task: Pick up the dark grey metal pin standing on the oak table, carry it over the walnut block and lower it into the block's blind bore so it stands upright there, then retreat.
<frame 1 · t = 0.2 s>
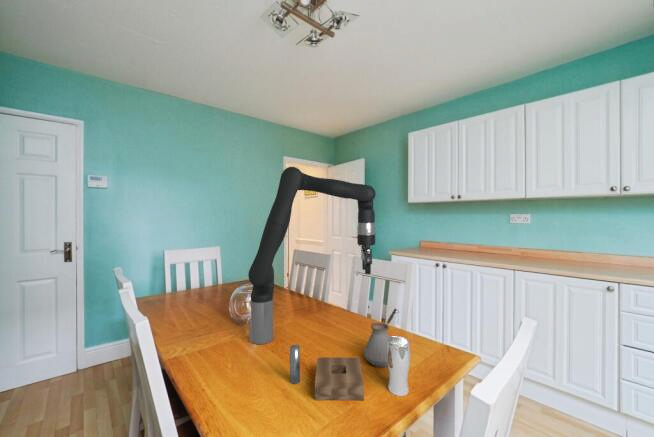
hand: (366, 271, 116), 29 cm above the table, fingers open, 8 cm apart
coffee pot: (385, 356, 103), on the table
pin: (295, 381, 88), on the table
bore block: (338, 385, 86), on the table
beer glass: (398, 390, 83), on the table
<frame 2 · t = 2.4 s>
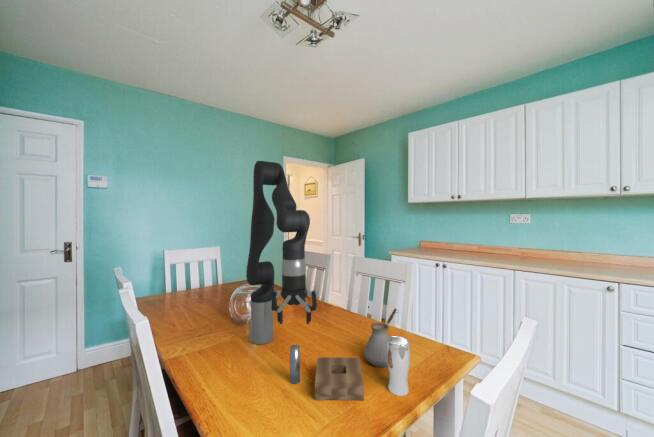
hand: (294, 323, 88), 19 cm above the table, fingers open, 8 cm apart
nothing on the table moved.
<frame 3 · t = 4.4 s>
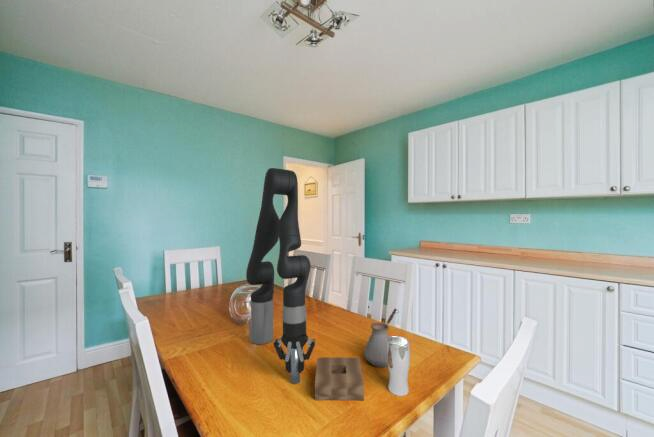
hand: (295, 371, 88), 3 cm above the table, fingers closed on pin, 3 cm apart
pin: (295, 381, 88), on the table, touching gripper
everything else where it was.
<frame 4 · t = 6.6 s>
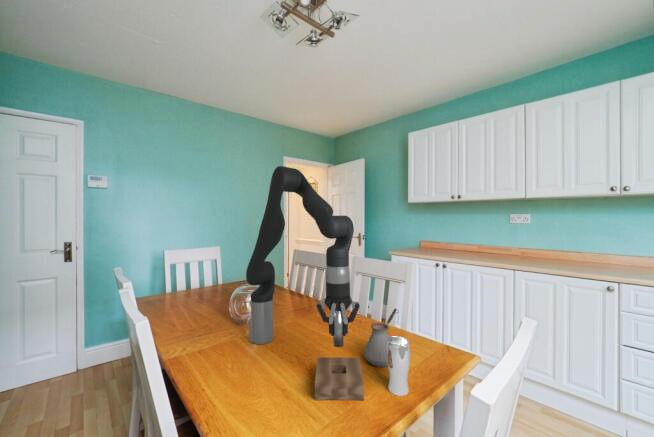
hand: (338, 334, 86), 16 cm above the table, fingers closed on pin, 3 cm apart
pin: (338, 344, 85), point 13 cm above the table, touching gripper
everything else where it was.
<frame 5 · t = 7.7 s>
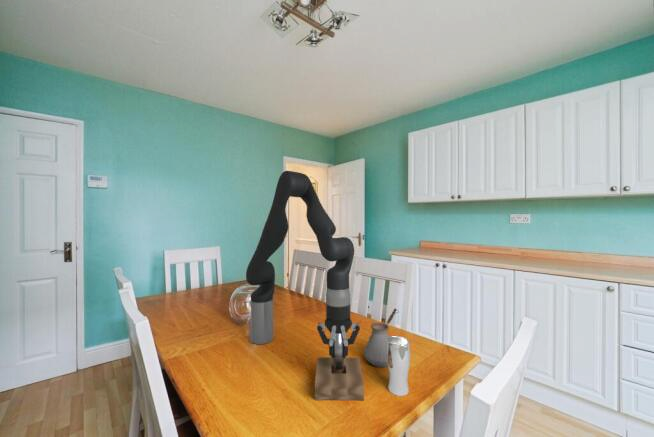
hand: (338, 356, 86), 9 cm above the table, fingers closed on pin, 3 cm apart
pin: (338, 366, 86), point 6 cm above the table, touching gripper
everything else where it was.
when the fingers open (6 cm above the table, at t = 8.7 s): pin drops 2 cm, resting on bore block.
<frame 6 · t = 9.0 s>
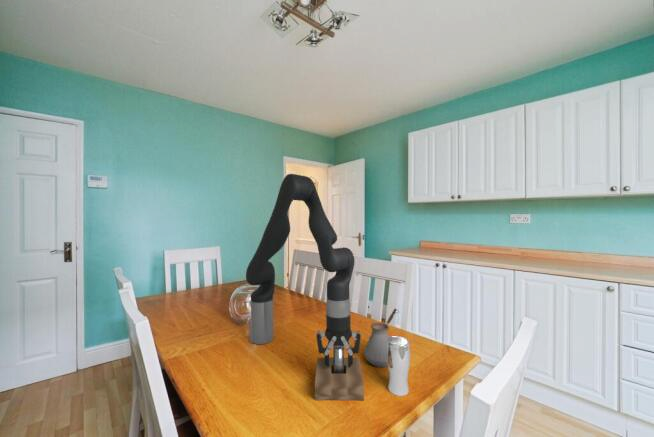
hand: (338, 365, 86), 6 cm above the table, fingers open, 6 cm apart
pin: (338, 382, 86), point 1 cm above the table, touching bore block
everything else where it was.
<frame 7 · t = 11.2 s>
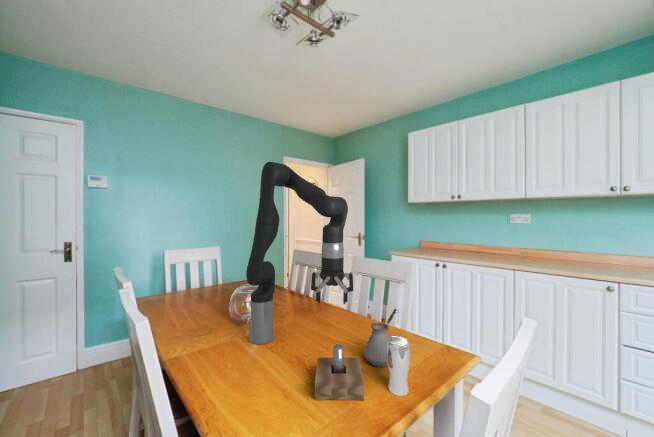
hand: (331, 302, 93), 23 cm above the table, fingers open, 8 cm apart
nothing on the table moved.
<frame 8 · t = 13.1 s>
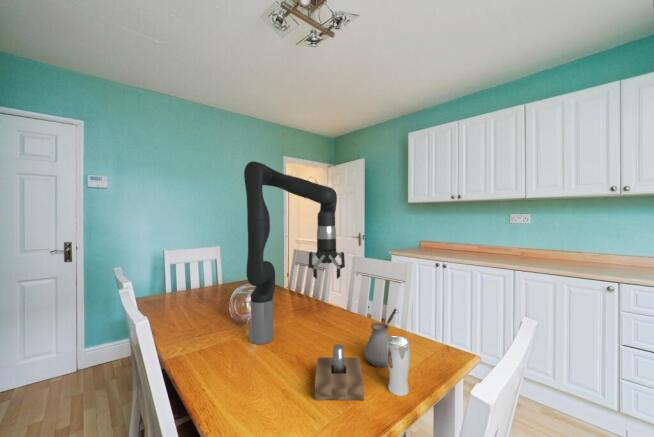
hand: (326, 278, 108), 28 cm above the table, fingers open, 8 cm apart
nothing on the table moved.
at the end: pin 0.1 cm off-centre on the bore block, point 1.0 cm above the bore block's base; pin tilted 0°; the gripper is holding nothing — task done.
